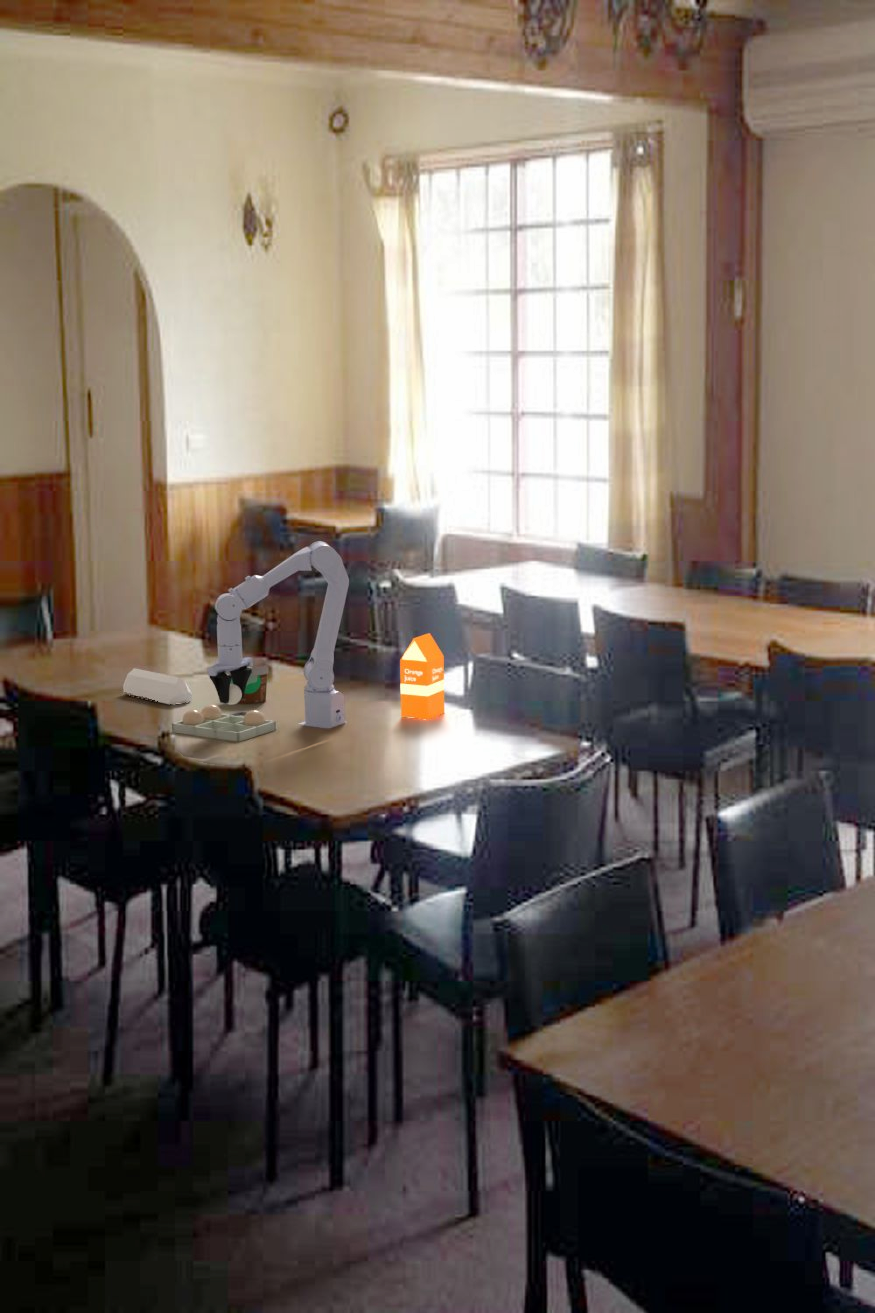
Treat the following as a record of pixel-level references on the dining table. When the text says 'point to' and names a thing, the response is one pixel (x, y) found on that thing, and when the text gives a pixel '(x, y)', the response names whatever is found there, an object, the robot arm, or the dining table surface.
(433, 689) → the orange juice
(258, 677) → the food container
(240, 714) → the dish
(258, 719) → the brown egg
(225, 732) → the egg tray
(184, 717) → the brown egg
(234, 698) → the white egg
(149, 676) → the white trapezoid ingot
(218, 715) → the brown egg
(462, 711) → the dining table surface
